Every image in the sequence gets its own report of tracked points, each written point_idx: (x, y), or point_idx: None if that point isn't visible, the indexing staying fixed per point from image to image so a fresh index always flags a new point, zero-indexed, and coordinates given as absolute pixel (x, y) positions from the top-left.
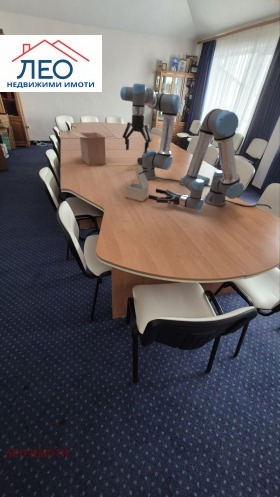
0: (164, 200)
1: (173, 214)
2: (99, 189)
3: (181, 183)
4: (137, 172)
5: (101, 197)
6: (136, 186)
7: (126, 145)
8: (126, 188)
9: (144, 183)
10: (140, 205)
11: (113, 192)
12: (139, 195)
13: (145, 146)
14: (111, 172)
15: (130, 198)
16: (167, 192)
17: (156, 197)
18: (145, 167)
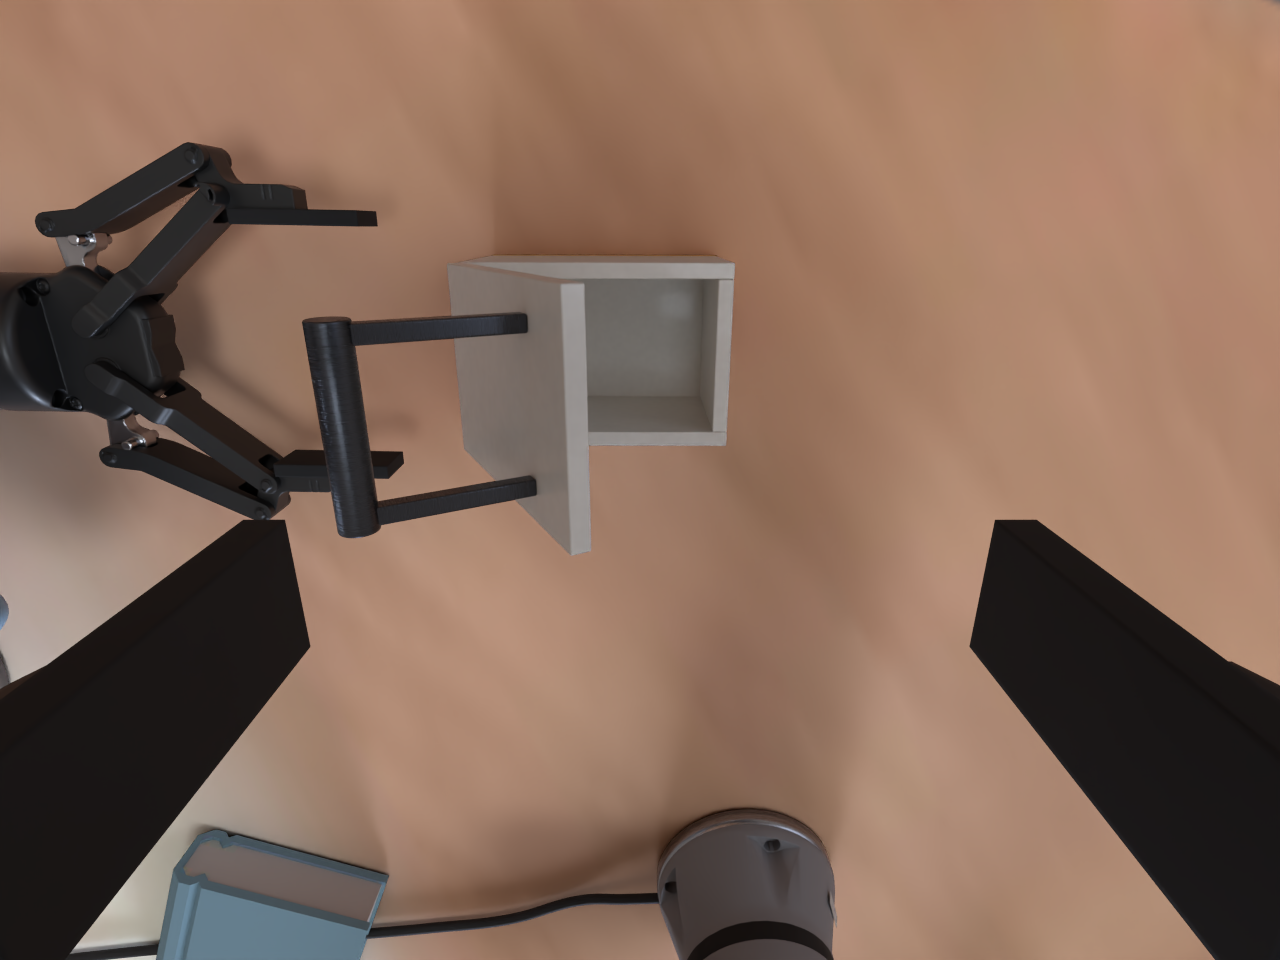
0: (116, 188)
1: (38, 132)
2: (1113, 304)
3: (369, 881)
4: (537, 296)
5: (996, 85)
6: (646, 422)
7: (1129, 604)
8: (725, 261)
9: (471, 357)
10: (466, 145)
11: (916, 317)
12: (527, 258)
13: (73, 660)
14: None
15: (653, 255)
16: (215, 441)
17: (240, 208)
18: (773, 942)
